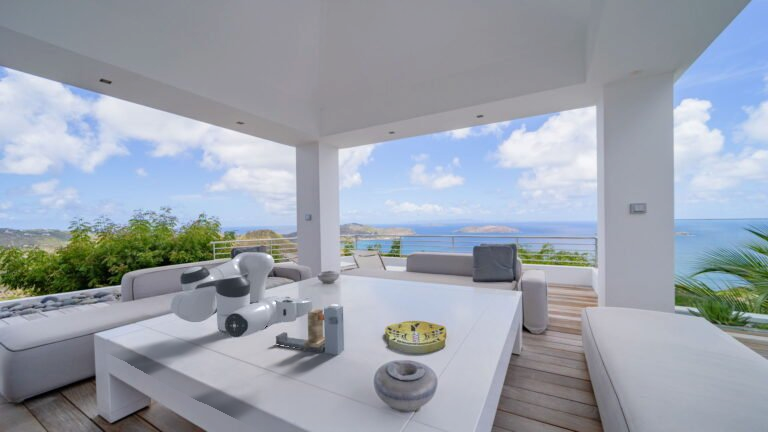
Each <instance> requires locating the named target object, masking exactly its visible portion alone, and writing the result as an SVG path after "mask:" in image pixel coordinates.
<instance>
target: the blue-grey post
mask: <svg viewBox="0 0 768 432" xmlns="http://www.w3.org/2000/svg"><path fill="white" fill-rule="evenodd" d="M323 314H324V320H323V331H324V337H325V352H324V353H325V354H329V355H333V356H334V355H336V356H339V355H340V354H341V353H343V351H345V335H344V333H345V331H344V330H345V329H344V326H345V325H344V305H339V304H338V303H337V304H336V303H332V304H329V305H328V306H326V307H324V308H323Z"/></svg>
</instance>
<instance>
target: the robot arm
mask: <svg viewBox="0 0 768 432" xmlns="http://www.w3.org/2000/svg"><path fill="white" fill-rule="evenodd" d="M274 267H275V259H274V257H273V256H272V255H270V254H269V253H266V252H254V251H253V252H251V251H244V252H240V253H239V254H236V255H235V256H234V257H233V258H232V259H230V260H228V261H227V262H224V263H222V264H219V265H217V266H214V267H212V268H210V269H208V268H207V267H205V266H192V267H190V268H188V269H187V270H185V271H183V272H182V273H181V275H180V277H179V278H180V284H181V287H182V291H180V292H179V293H177V294H175V296H174V297H173V298H172V299H171V302H170V309H171V312H172V313H173V314H174V315H175V316H177V318H180V319H182V320H183V321H187V322H190V323H200V322H205V321H207V320H208V319H210V318H211V317H212V316H213V315H215V314H216V322H217V323H216V325H217V329H218V330H219V331H220V332H221V333H223V334H224V335H226V336H229V337H232V338H243V337H247V336H250V335H253V334H255V333H258V332H261V331H262V330H264V329H266V328H267V327H266V326H268V327H272V326H273V325H277V324H280V323H291V322H295V321H296V320H297V318H301V317H303V316H305V315H308V313H309V312H311V311H312V310H313V301H312V300H311V298H307V297H306V298H304V299H301V298H291V297H290V296H285V297H280V296H278V295H273V296H266V284H267V280H268V276H269V274H270V273H271V271H272V270H273V269H274ZM246 275H247V277H246ZM265 327H266V328H265Z"/></svg>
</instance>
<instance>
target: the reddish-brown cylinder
mask: <svg viewBox="0 0 768 432" xmlns="http://www.w3.org/2000/svg"><path fill="white" fill-rule="evenodd" d="M318 319H319V320H323V321H324V313H323V314H319V315H318Z"/></svg>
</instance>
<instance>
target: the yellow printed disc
mask: <svg viewBox="0 0 768 432" xmlns="http://www.w3.org/2000/svg"><path fill="white" fill-rule="evenodd" d="M385 338H386V340H387V341H388V346H389V347H390V348H393V349H394V350H397V351H400V352H404V353H410V354H427V353H432V352H435V351H438V350H440V349H442V348H444V347H446V339H447V327H446V326H444V325H441V324H437V323H433V322H428V321H424V320H409V321H408V320H407V321H403V322H398V323H395V324H390V325H387V326H386V327H385Z"/></svg>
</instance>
